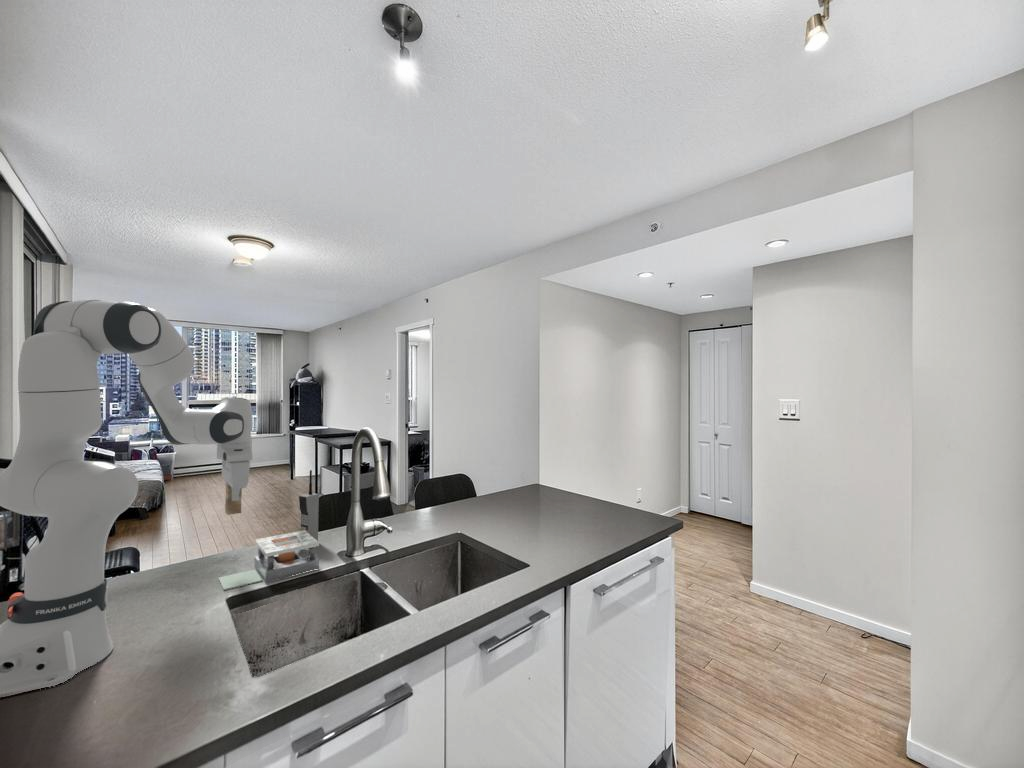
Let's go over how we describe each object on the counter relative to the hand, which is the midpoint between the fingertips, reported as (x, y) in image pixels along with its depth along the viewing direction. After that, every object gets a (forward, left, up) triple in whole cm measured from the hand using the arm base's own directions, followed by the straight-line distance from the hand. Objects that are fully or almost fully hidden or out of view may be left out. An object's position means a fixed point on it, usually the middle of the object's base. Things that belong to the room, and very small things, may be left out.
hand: (233, 498), depth 133 cm
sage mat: (0, -12, -20) cm, 23 cm away
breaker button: (+12, -11, -18) cm, 24 cm away
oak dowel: (0, 0, -4) cm, 4 cm away
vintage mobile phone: (+23, +6, -20) cm, 31 cm away
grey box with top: (+12, -11, -20) cm, 26 cm away
